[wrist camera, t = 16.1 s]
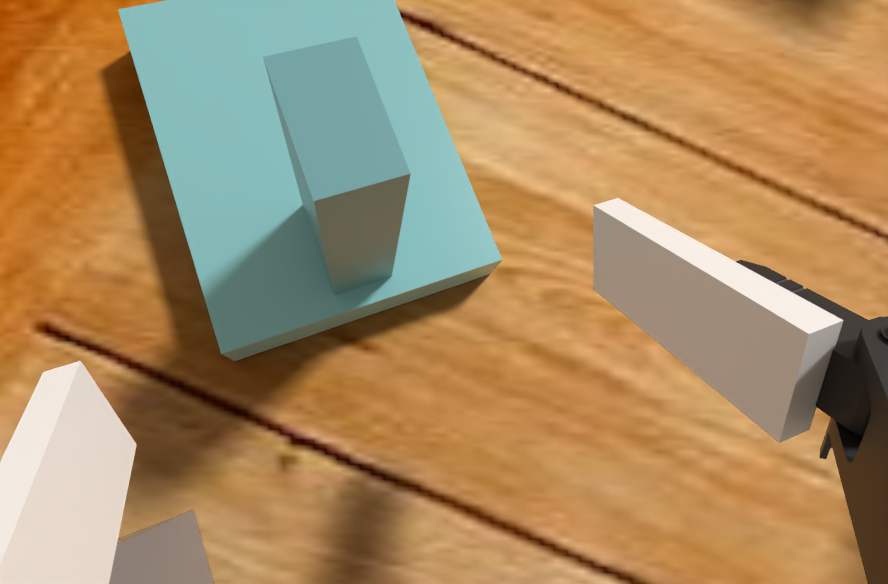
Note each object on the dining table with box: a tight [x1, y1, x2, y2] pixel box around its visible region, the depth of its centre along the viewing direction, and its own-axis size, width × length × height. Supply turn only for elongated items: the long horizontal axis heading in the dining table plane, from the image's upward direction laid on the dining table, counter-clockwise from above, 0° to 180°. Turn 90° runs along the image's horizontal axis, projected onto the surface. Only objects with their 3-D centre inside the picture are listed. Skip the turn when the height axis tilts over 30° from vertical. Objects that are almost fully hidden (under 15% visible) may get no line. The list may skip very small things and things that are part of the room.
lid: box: [118, 0, 502, 361], centre depth 19 cm, size 16×12×11 cm
